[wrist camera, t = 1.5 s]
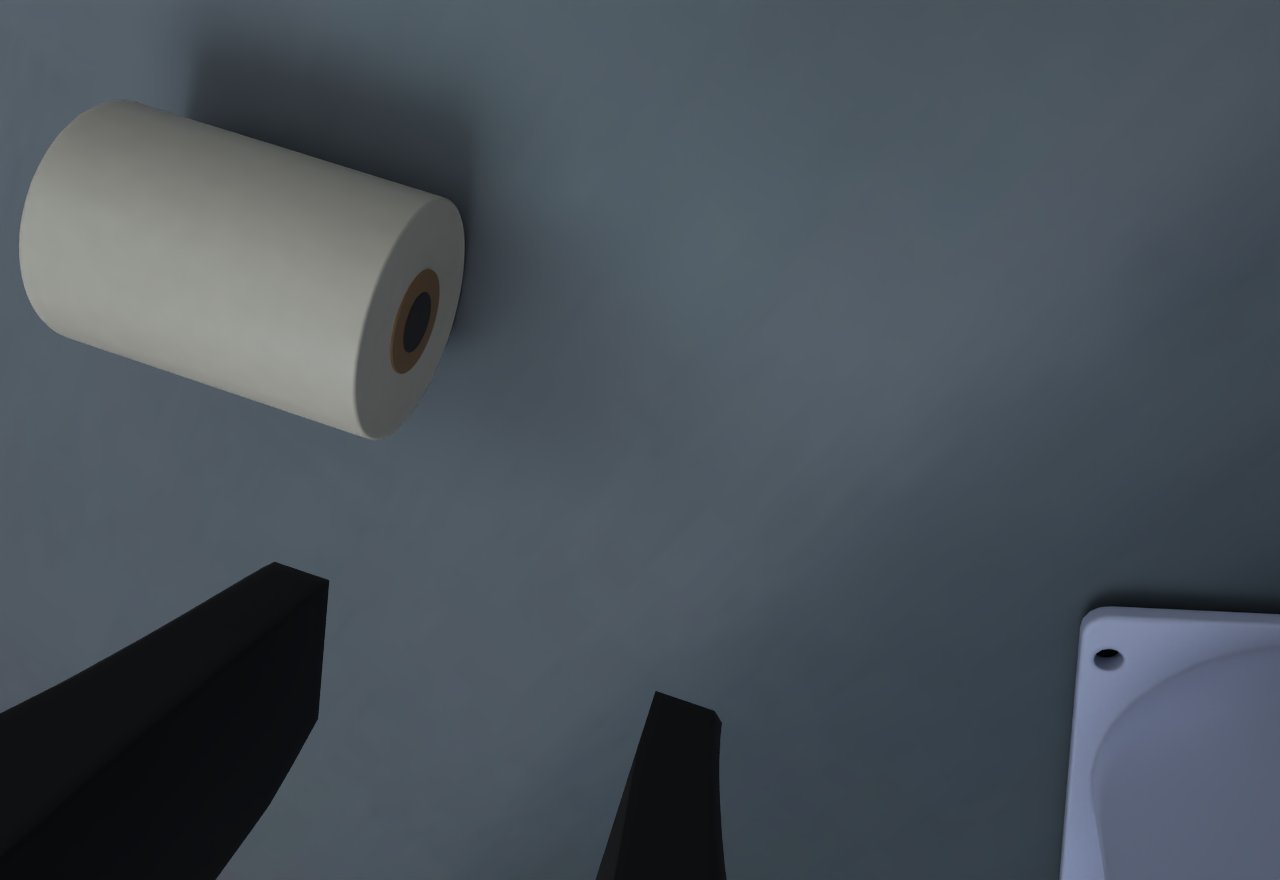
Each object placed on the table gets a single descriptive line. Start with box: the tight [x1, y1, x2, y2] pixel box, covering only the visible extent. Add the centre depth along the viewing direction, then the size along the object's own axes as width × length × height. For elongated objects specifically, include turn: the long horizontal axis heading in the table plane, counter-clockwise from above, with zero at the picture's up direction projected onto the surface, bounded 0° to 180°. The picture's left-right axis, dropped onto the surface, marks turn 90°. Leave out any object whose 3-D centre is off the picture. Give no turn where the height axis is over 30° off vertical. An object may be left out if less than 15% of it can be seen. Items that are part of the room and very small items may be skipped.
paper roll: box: [19, 100, 465, 440], centre depth 19 cm, size 6×4×4 cm
